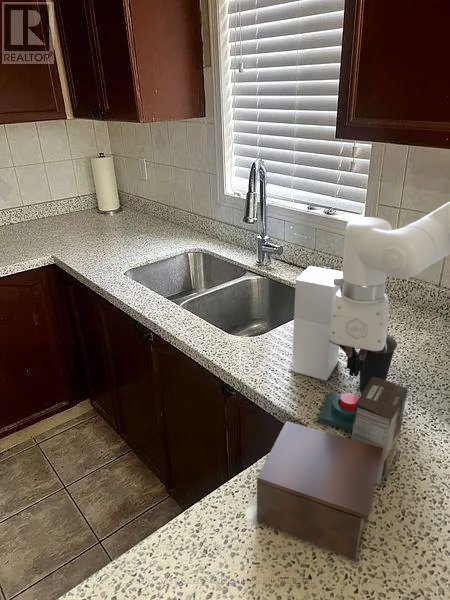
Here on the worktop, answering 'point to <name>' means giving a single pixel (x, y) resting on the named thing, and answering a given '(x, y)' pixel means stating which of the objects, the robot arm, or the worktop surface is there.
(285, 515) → the chest
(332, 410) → the red push button base
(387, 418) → the coffee box
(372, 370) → the drinking cup
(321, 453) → the lid
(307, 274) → the tall white carton
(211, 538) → the worktop surface
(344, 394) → the button
